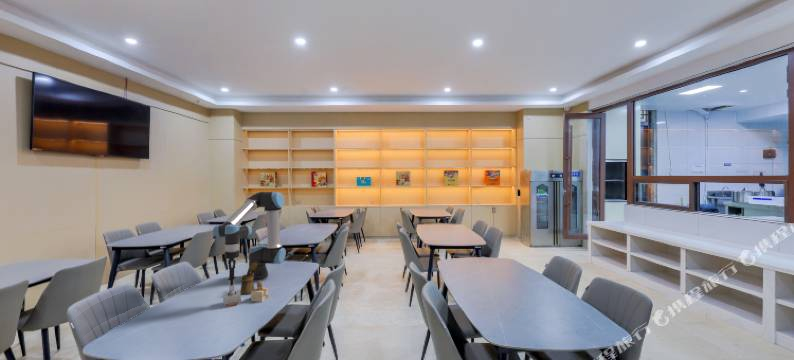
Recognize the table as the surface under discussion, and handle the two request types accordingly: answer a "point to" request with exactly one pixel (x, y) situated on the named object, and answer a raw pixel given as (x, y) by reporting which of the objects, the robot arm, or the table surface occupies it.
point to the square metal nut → (231, 297)
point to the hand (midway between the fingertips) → (231, 290)
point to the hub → (232, 303)
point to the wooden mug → (248, 280)
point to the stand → (259, 293)
